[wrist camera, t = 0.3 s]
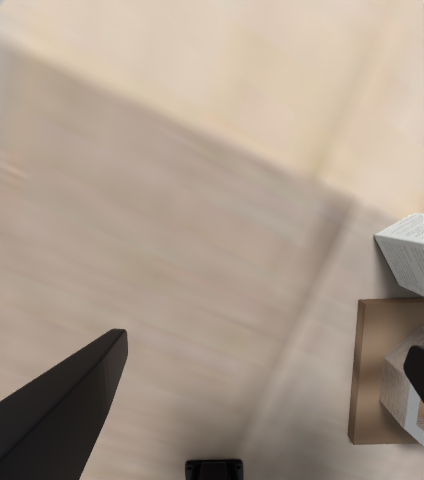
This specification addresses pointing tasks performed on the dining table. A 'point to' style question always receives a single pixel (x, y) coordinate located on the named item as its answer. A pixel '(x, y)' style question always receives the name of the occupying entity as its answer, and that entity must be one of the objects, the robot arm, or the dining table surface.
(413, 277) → the skincare box
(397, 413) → the steel ring
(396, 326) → the walnut board
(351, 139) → the dining table surface
